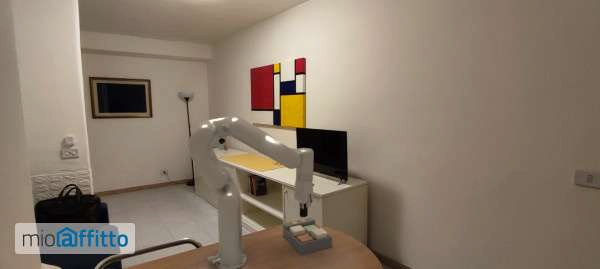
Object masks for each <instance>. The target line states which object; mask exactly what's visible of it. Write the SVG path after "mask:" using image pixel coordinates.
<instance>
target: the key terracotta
mask: <svg viewBox="0 0 600 269" xmlns="http://www.w3.org/2000/svg"><path fill="white" fill-rule="evenodd" d="M297 240H299V241H300V242H301V243H305V242H309V241H313V238H312V237H310V236H309V235H308V234H305V235H300V236H297Z"/></svg>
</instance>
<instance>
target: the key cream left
mask: <svg viewBox="0 0 600 269" xmlns="http://www.w3.org/2000/svg"><path fill="white" fill-rule="evenodd" d="M290 232H291V233H292V234H293V235H294V236H298V235H302V234H305V229H304V228H303V227H302V226H301V225H298V226H294V227H290Z"/></svg>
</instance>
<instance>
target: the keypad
mask: <svg viewBox="0 0 600 269" xmlns="http://www.w3.org/2000/svg"><path fill="white" fill-rule="evenodd" d="M298 225H301V226H302V227H303V228H304V227H305V226H309V225H315V226H316V227H317V228H321V227H320V226H318V225H317V224H316V220H315V218H313V217H306V218H302V219H298V220H292V221H288V222H283V223H282V236H283V237H282V238H284V240H285V241H286V242H287V243H288V244H289V245H290V246H291V247H292V248H293V249H294V250H295V251H296V252H297V253H298V254H299V255H300V256H304V255H307V254H311V253H315V252H318V251H322V250H326V249H330V248H332V247H333V246H332V245H333V238H332V237H333V236H331V235H330V234H329V233H328V232H327V237H325V238H321V239H316V238H315V237H313V236H312V235H309V236H310V237H312V238H313V241H309V242H305V243H301V242H300V241H299V240H297V236H294V235H293V234H292V233H291V232H290V227H294V226H298ZM305 234H307V233H306V232H305ZM305 234H302V235H305ZM298 236H300V235H298Z"/></svg>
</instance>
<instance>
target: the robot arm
mask: <svg viewBox="0 0 600 269" xmlns="http://www.w3.org/2000/svg"><path fill="white" fill-rule="evenodd" d="M225 137H226V138H227V137H232V138H233V139H235V140H237V141H238V142H240V143H242V144H243V145H246V146H247V147H249V148H251V149H252V150H254V151H256V152H258V153H260V154H262V155H264V156H266V157H268V158H269V159H271V160H272V161H274V162H277V163H279V165H282V166H283V167H285V168H287V169H291V170H293V169H295V182H294V193H293V196H294V197H293V198H294V199H295V200H296V201H297V202H298V203H299V217H300V218H308V213H309V212H308V211H309V208H311V207H312V205H311V204H312V203H313V202H314V201H313V200H314V183H313V181H314V155H315V154H314V150H313V149H312V148H308V147H307V148H306V147H300V148H293V147H292V148H291V147H288V145H285V143H284V144H283V143H282V142H280V141H279V140H278V139H276V138H275V137H273V136H272V135H271V134H269V133H267V132H266V131H265V130H262V129H261V128H259V127H257V126H256V125H254V124H252V123H251V122H249V121H248V120H246V119H244V118H242V117H241V116H238V115H228V116H224V117H219V118H214V119H208V120H203V121H201V122H199V123H197V125H196V127H195V129H194V130H193V131H192V134H191V135H190V137H189V139H188V144H187V145H188V153H189V156H190V158H191V160H192V162H193V164H194V165H195V166H196V169H197V171H198V172H199V174H200V175H201V177H202V179H203V181H204V183H205V185H206V186H207V187H208V188H210V189H211V190H212V192H213V193H214V195H215V197H216V203H217V204H216V205H217V207H216V208H217V228H218V251H217V253H216V254H215V255H213V256H212V255H210V256H207V262H208V263H210V262H211V264H215V265H216V268H218V269H240V268H242V267H243V266H245V264H247V259H248V258H247V255H246V254H245V253H243V252H244V251H243V250H244V246H243V245H244V244H243V219H242V218H243V200H242V194H241V193H240V190H239V188H238V186H237V185H236V183H235V180H234V179H233V177H232V176H231V174H230V172H229V171H228V169H227V167H226V166H225V165H224V164H223V163H221V162H220V160H219V158H218V156H217V154H216V153H215V151H214V149H213V143H214V142H215V140H217V139H222V138H223V139H224V138H225Z"/></svg>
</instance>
